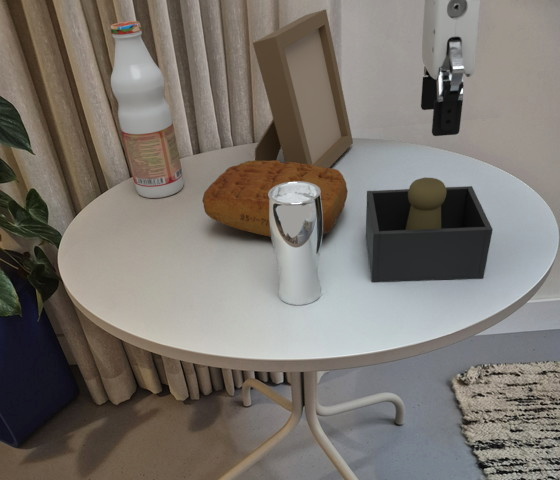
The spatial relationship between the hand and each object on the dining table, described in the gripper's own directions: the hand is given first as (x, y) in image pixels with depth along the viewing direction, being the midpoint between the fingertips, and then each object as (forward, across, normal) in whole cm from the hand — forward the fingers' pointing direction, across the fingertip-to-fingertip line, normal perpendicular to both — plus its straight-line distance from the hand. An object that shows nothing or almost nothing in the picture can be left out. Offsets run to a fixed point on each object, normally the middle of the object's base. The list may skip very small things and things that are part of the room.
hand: (438, 120), depth 74 cm
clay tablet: (+19, +13, +23) cm, 33 cm away
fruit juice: (+19, +29, +47) cm, 58 cm away
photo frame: (+19, +38, +20) cm, 47 cm away
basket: (+20, 0, +1) cm, 20 cm away
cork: (+19, 0, +1) cm, 19 cm away
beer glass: (+19, -9, +19) cm, 29 cm away
